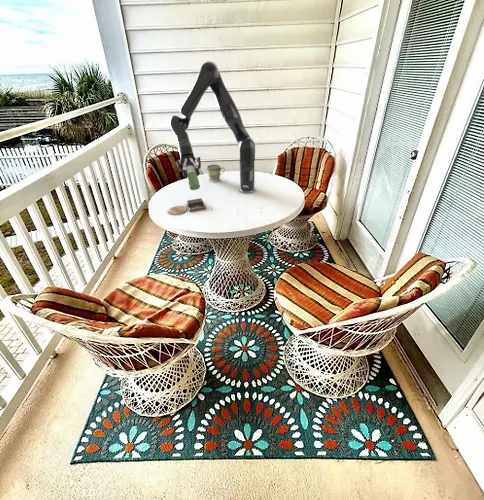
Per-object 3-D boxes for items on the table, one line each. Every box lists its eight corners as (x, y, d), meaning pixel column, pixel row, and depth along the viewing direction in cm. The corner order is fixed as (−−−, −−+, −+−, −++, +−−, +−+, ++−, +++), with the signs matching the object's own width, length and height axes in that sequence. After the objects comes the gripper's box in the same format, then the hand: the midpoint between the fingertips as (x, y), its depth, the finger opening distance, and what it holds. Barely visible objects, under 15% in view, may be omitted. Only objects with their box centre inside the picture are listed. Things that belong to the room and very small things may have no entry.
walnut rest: (187, 204, 165) (186, 200, 163) (201, 202, 167) (201, 198, 166) (190, 211, 157) (189, 207, 156) (205, 209, 159) (205, 204, 158)
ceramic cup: (206, 182, 195) (204, 168, 190) (209, 177, 203) (208, 164, 198) (224, 183, 193) (223, 169, 188) (226, 178, 201) (226, 164, 196)
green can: (187, 186, 160) (183, 164, 153) (197, 185, 161) (193, 163, 155) (190, 192, 149) (187, 169, 143) (201, 191, 151) (198, 168, 144)
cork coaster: (175, 206, 164) (175, 205, 164) (189, 208, 161) (189, 207, 161) (165, 213, 157) (165, 212, 157) (180, 215, 154) (180, 214, 153)
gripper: (172, 147, 149) (179, 175, 147) (198, 143, 153) (205, 171, 150) (172, 154, 156) (179, 181, 154) (197, 151, 160) (204, 177, 157)
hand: (192, 176), depth 152 cm, fingers closed on green can, 6 cm apart
